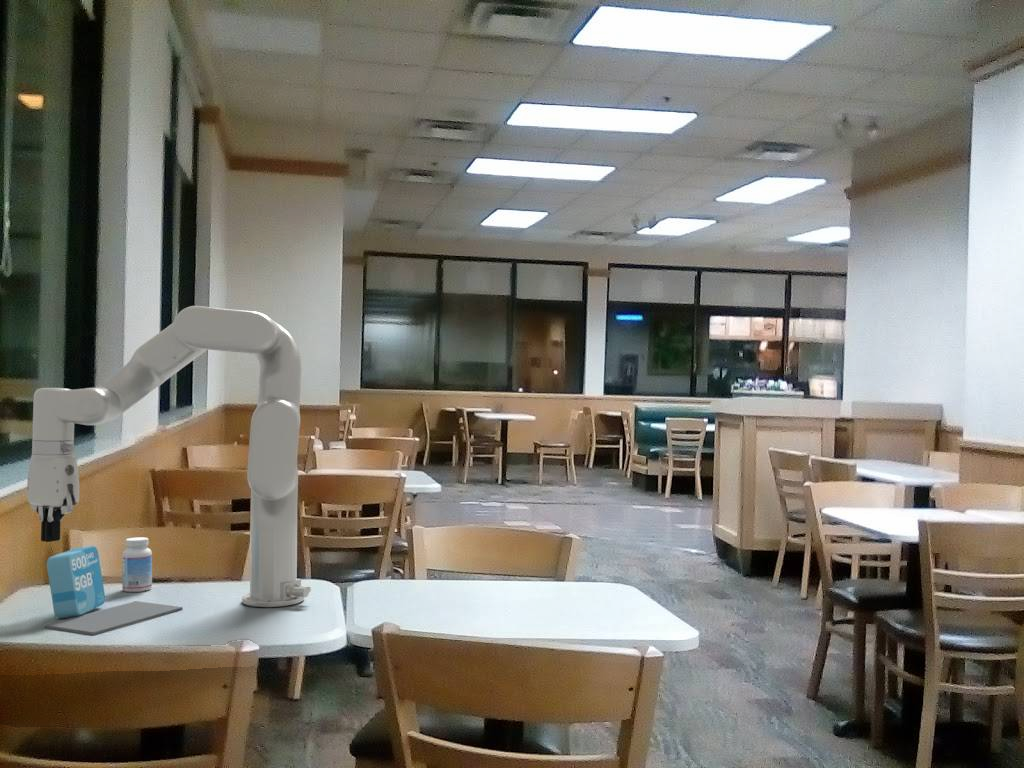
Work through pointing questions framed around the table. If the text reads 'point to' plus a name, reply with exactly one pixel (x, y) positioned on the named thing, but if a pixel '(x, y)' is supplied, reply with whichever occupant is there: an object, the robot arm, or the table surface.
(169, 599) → the table surface
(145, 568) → the pill bottle
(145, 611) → the mat
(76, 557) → the data package
